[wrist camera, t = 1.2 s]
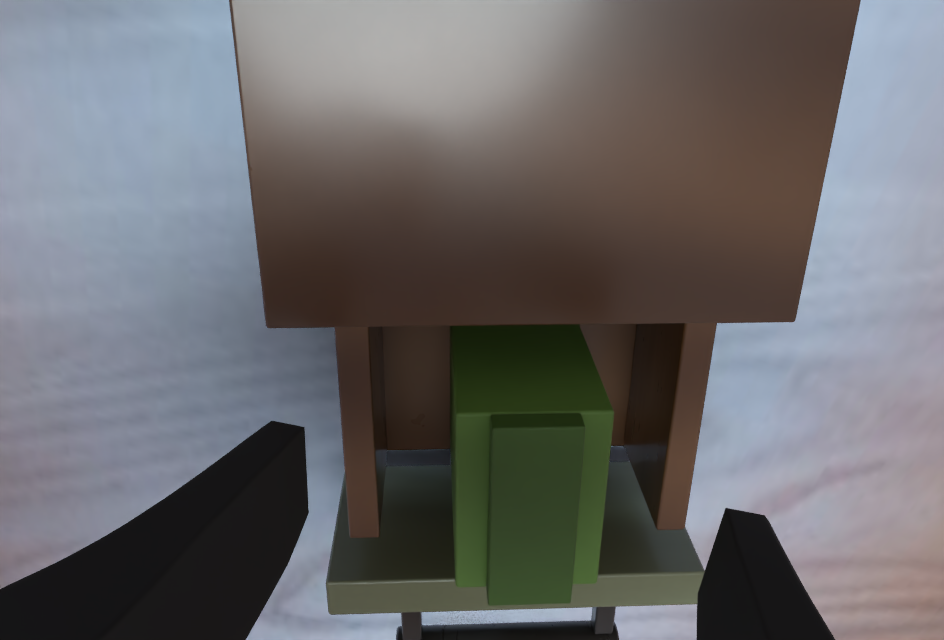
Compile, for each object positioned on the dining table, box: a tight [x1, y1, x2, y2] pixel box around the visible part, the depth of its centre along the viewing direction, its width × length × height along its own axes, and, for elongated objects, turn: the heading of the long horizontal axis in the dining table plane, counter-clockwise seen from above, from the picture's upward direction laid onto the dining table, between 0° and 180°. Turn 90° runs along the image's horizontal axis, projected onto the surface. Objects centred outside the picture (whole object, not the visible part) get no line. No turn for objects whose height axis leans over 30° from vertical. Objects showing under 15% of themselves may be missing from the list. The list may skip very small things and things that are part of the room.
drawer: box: [326, 323, 717, 640], centre depth 22 cm, size 17×10×5 cm, turn 179°
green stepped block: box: [450, 325, 614, 606], centre depth 20 cm, size 5×4×6 cm
